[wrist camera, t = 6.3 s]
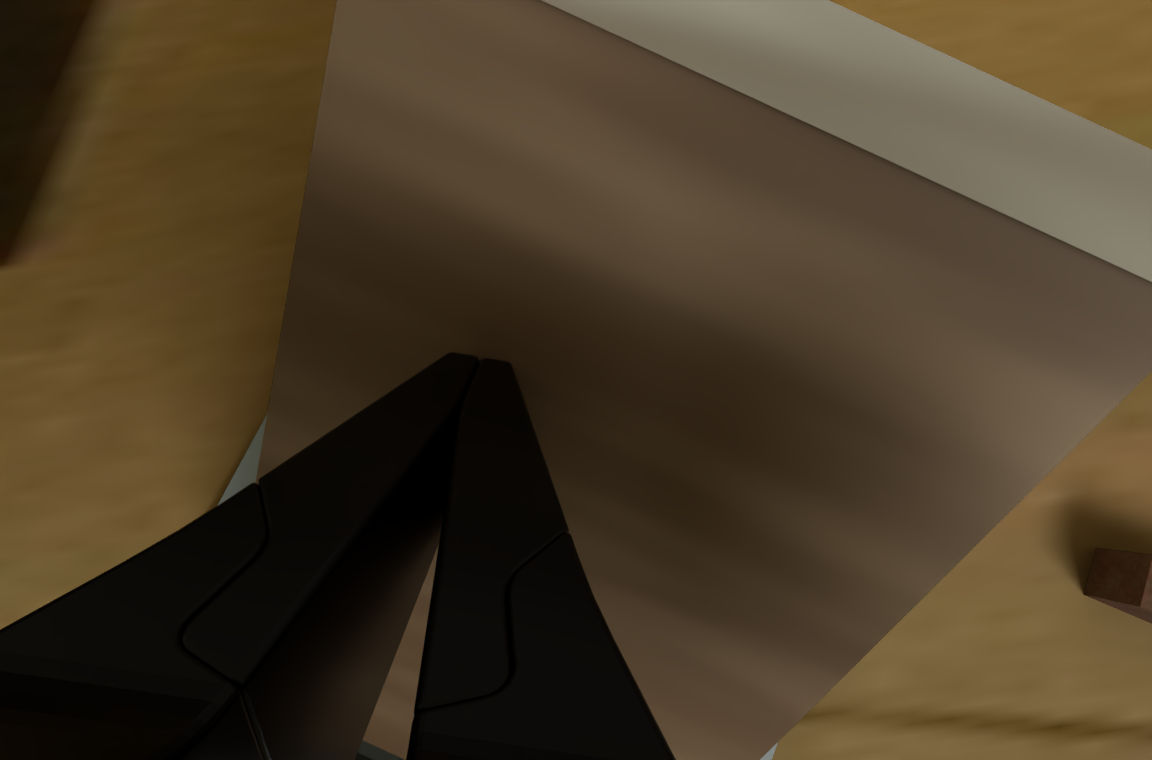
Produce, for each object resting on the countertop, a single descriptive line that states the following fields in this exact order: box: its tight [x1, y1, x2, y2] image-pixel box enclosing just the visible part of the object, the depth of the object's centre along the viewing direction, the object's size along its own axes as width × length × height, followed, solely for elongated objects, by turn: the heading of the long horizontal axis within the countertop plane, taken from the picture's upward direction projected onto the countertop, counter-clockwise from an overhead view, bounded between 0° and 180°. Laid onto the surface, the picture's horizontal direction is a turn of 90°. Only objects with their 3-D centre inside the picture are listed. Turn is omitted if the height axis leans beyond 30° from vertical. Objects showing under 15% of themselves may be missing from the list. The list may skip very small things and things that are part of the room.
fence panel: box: [255, 0, 1152, 760], centre depth 10 cm, size 1×10×15 cm
